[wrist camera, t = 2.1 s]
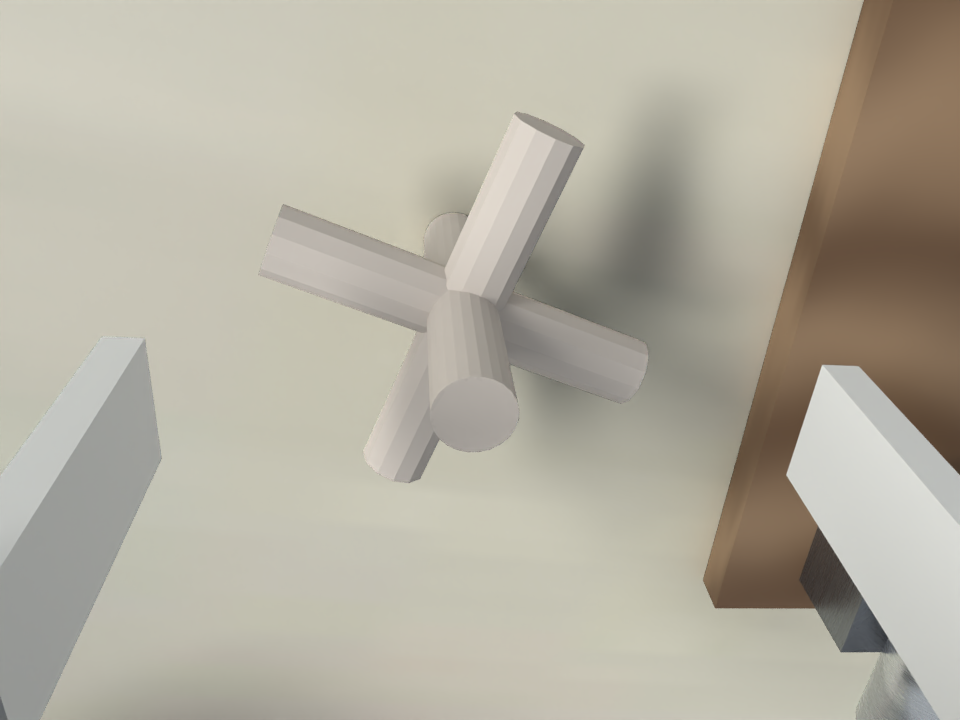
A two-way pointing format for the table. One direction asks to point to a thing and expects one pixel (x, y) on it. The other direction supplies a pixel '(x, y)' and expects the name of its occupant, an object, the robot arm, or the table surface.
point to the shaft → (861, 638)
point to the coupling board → (859, 288)
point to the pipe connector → (463, 307)
